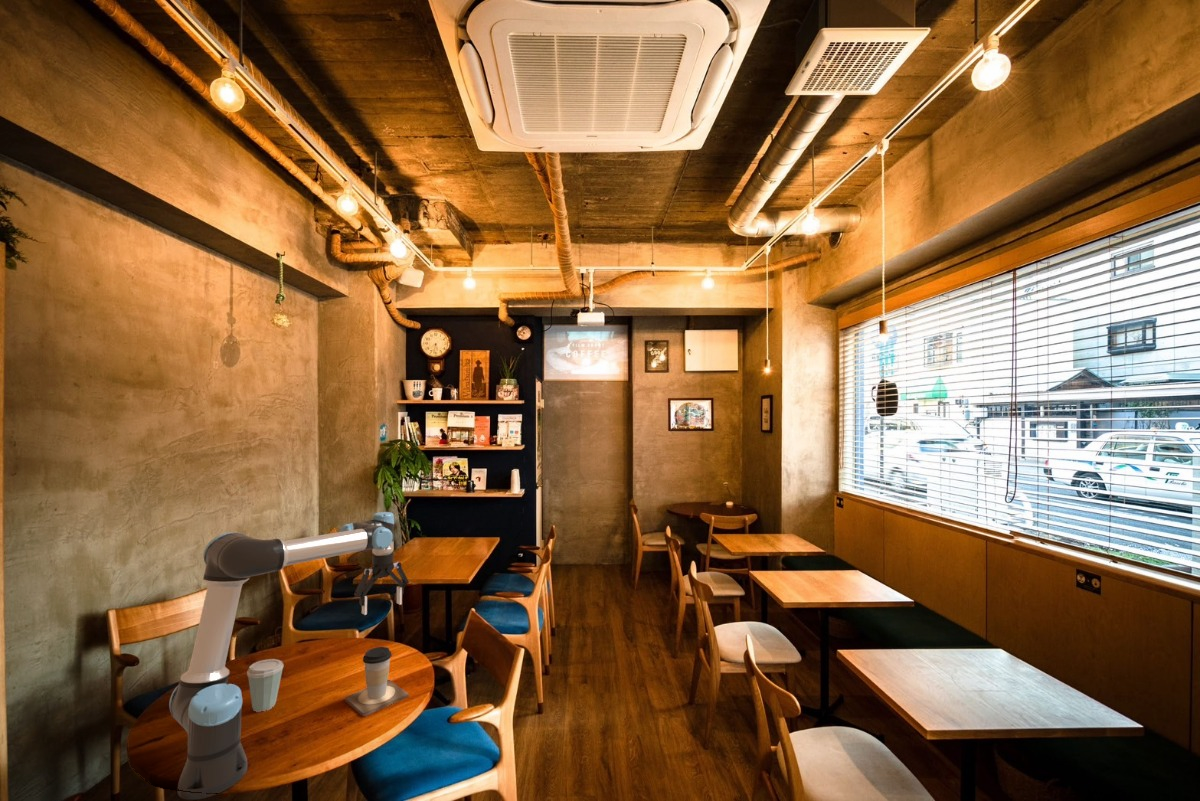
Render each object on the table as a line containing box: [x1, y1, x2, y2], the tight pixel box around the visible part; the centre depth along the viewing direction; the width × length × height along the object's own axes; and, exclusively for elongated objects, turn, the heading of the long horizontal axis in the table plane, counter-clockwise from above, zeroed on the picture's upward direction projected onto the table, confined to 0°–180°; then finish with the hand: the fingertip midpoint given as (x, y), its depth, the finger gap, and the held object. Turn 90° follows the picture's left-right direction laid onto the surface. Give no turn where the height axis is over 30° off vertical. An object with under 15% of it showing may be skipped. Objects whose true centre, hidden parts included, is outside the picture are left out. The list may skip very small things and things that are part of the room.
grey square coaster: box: [344, 679, 410, 718], centre depth 177 cm, size 16×15×2 cm
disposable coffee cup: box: [246, 658, 284, 713], centre depth 172 cm, size 11×11×15 cm
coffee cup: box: [362, 646, 393, 699], centre depth 177 cm, size 9×9×15 cm
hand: (382, 608), depth 191 cm, fingers open, 13 cm apart
